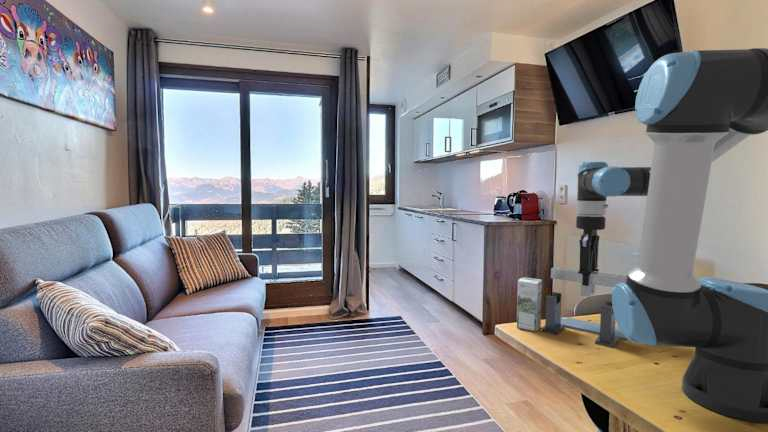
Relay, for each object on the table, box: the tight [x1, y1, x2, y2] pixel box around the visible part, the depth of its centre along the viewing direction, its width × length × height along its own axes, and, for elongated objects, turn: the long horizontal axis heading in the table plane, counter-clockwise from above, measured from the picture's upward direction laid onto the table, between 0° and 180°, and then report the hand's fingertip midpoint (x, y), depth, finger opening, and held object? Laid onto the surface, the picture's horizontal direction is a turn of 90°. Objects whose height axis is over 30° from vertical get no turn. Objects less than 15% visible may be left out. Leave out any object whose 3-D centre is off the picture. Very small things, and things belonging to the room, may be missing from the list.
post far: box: [540, 291, 565, 336], centre depth 115 cm, size 7×4×10 cm, turn 140°
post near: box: [594, 300, 620, 348], centre depth 106 cm, size 7×4×10 cm, turn 140°
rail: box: [550, 266, 627, 288], centre depth 116 cm, size 4×20×3 cm, turn 50°
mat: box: [561, 315, 627, 341], centre depth 117 cm, size 8×21×1 cm, turn 50°
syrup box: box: [516, 276, 543, 333], centre depth 116 cm, size 6×6×14 cm
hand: (587, 294), depth 116 cm, fingers closed on rail, 3 cm apart
